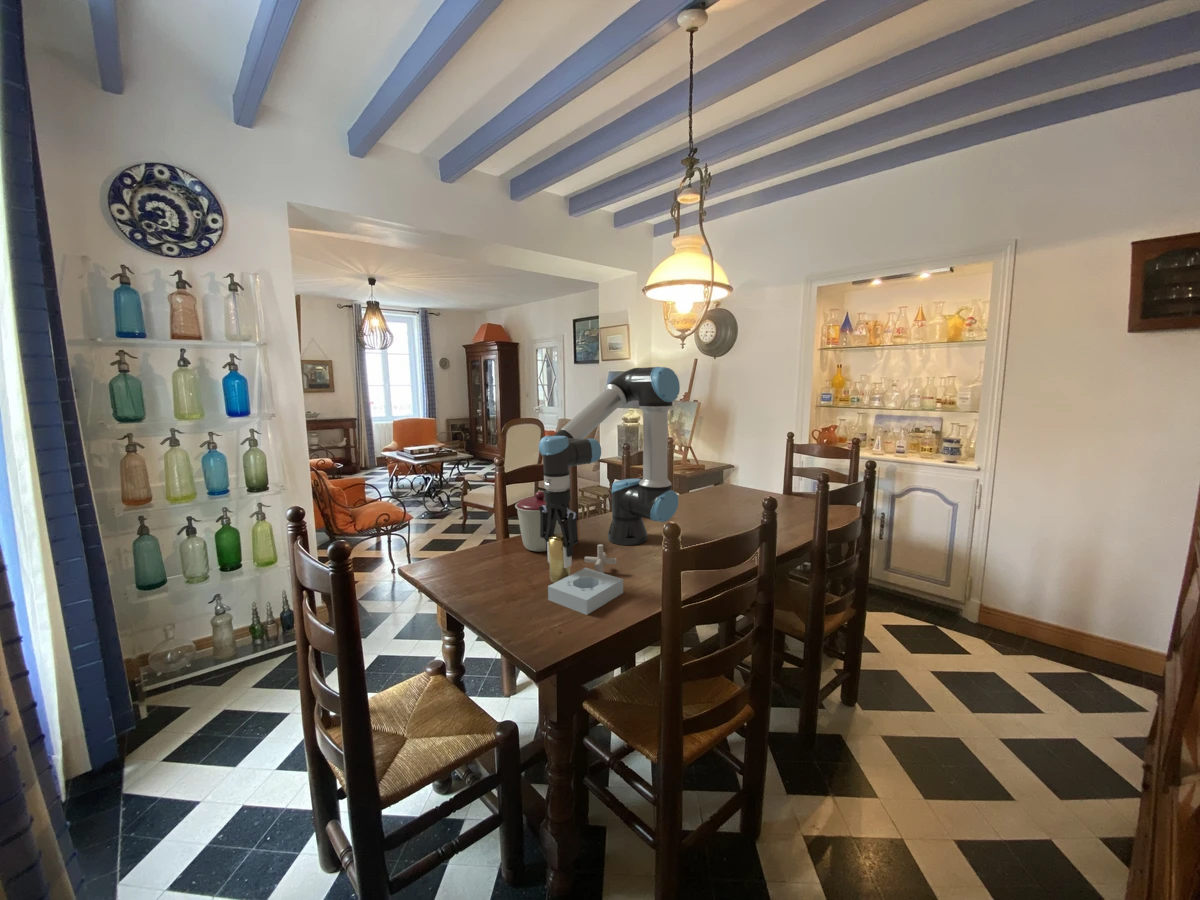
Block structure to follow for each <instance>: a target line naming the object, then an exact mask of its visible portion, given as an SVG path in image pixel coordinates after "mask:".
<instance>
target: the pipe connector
mask: <svg viewBox="0 0 1200 900" xmlns="http://www.w3.org/2000/svg"><path fill="white" fill-rule="evenodd" d="M596 546H597V550H596V551H597V556H584V560H583V562H584V563H588V564H590V563H591V564H594V570H596V571H598V572H601V573H605V570H604V569H605V566H604V564H607V565H617V560H618V558H617V557H614V558H613V557H607V553H606V552H605V551H604V545H603V544H601V543H600V544H597V545H596Z"/></svg>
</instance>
